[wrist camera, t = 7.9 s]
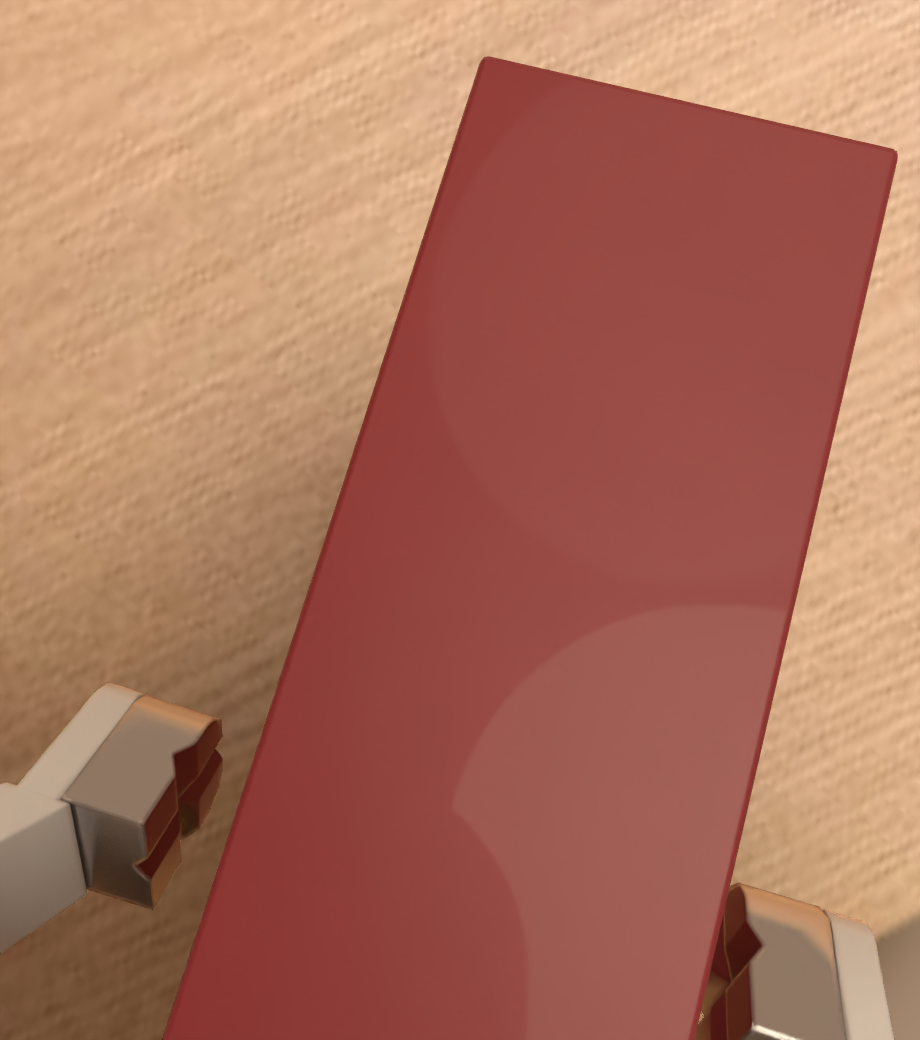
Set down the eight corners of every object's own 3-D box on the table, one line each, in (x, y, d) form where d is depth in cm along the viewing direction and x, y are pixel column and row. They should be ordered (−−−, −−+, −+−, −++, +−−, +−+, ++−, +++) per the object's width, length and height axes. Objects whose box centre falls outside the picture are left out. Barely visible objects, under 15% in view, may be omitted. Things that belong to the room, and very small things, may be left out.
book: (502, 928, 17) (517, 1826, 4) (372, 885, 17) (-23, 1592, 4) (614, 512, 18) (901, 147, 5) (493, 479, 18) (480, 50, 5)
